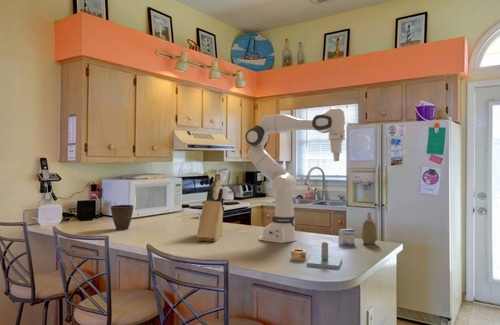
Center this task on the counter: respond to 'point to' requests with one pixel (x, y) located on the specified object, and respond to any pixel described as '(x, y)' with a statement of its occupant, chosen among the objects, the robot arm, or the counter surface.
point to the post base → (325, 263)
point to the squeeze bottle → (369, 231)
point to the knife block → (211, 217)
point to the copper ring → (298, 254)
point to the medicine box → (346, 237)
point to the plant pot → (122, 216)
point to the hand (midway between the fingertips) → (336, 161)
